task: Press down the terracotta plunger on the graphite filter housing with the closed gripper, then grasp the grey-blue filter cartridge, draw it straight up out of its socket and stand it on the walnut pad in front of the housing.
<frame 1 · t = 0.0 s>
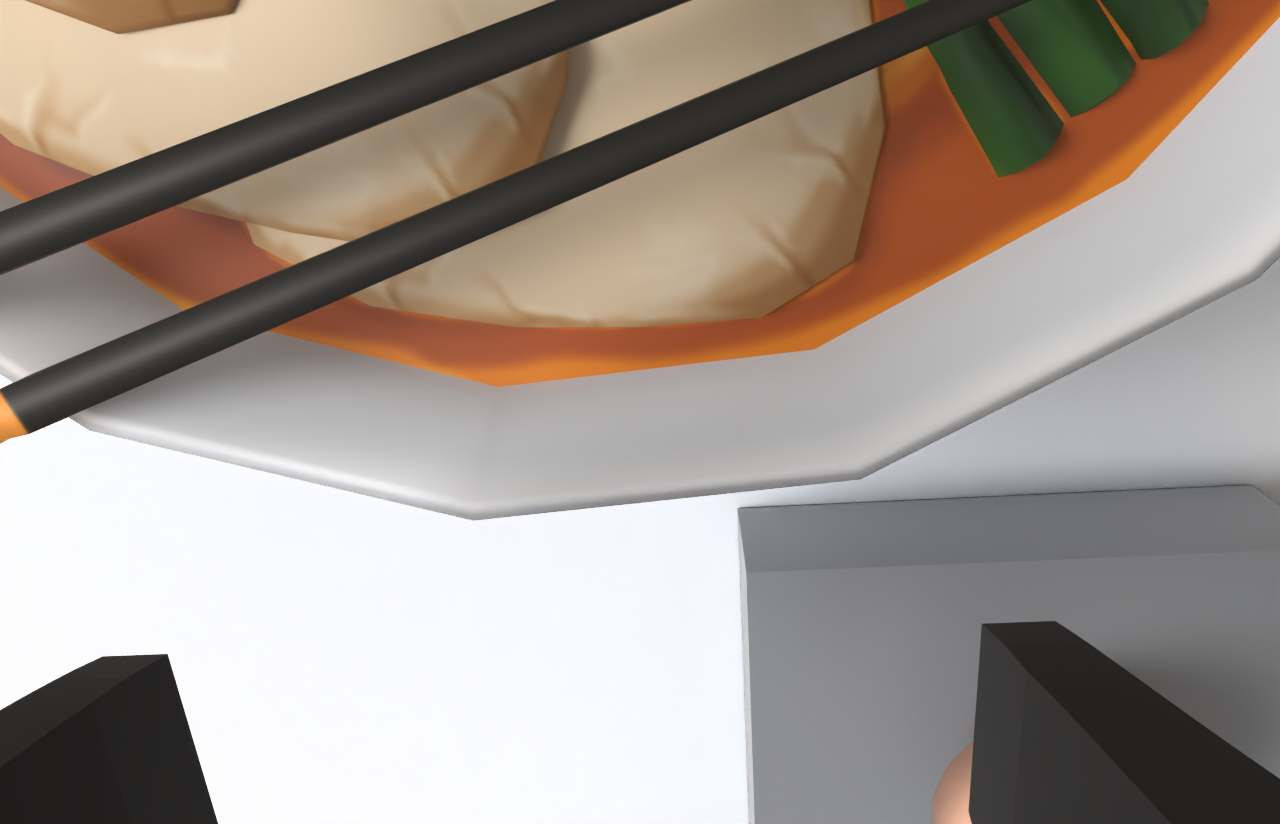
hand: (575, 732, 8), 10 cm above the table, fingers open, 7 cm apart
filter housing: (968, 811, 21), on the table
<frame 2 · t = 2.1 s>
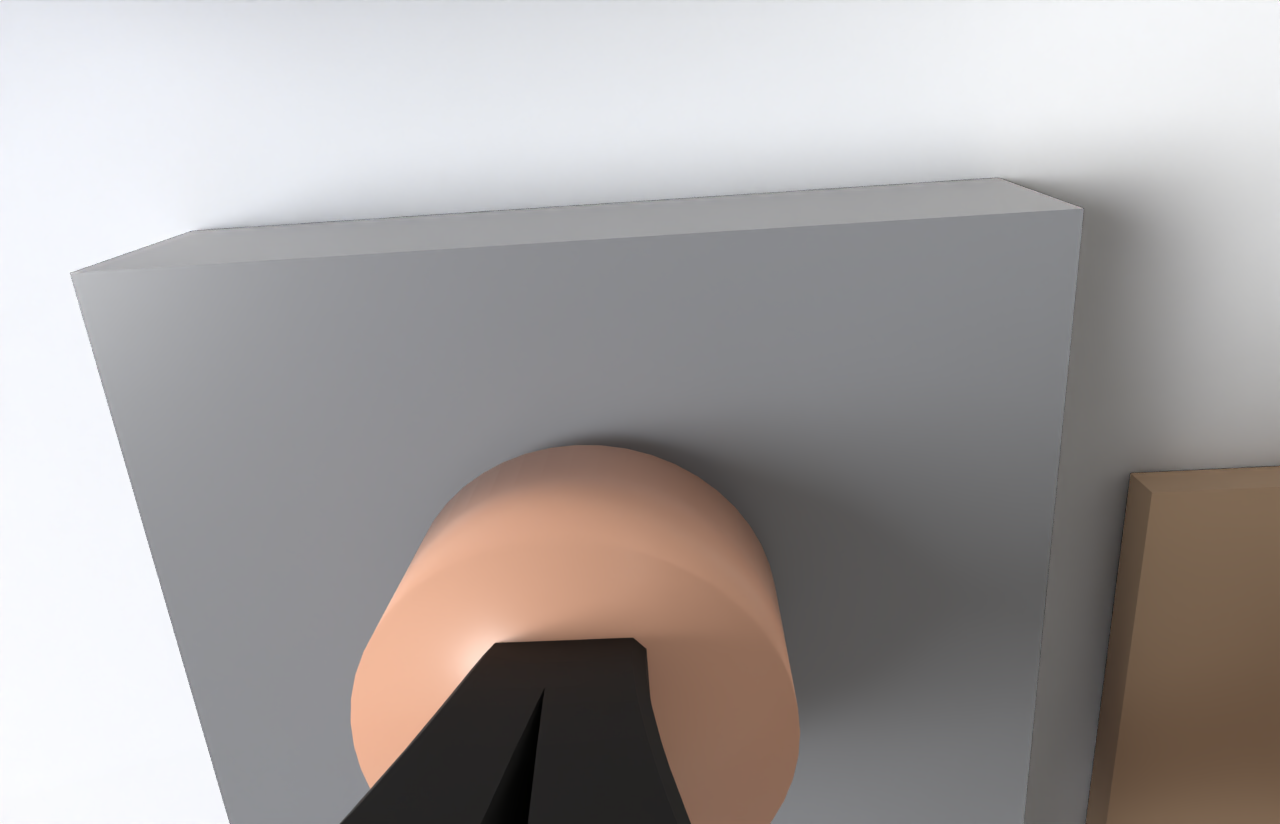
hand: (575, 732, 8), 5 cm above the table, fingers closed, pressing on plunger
filter housing: (631, 732, 14), on the table
plunger: (584, 669, 9), point 4 cm above the table, slide at 1.1 cm, touching gripper
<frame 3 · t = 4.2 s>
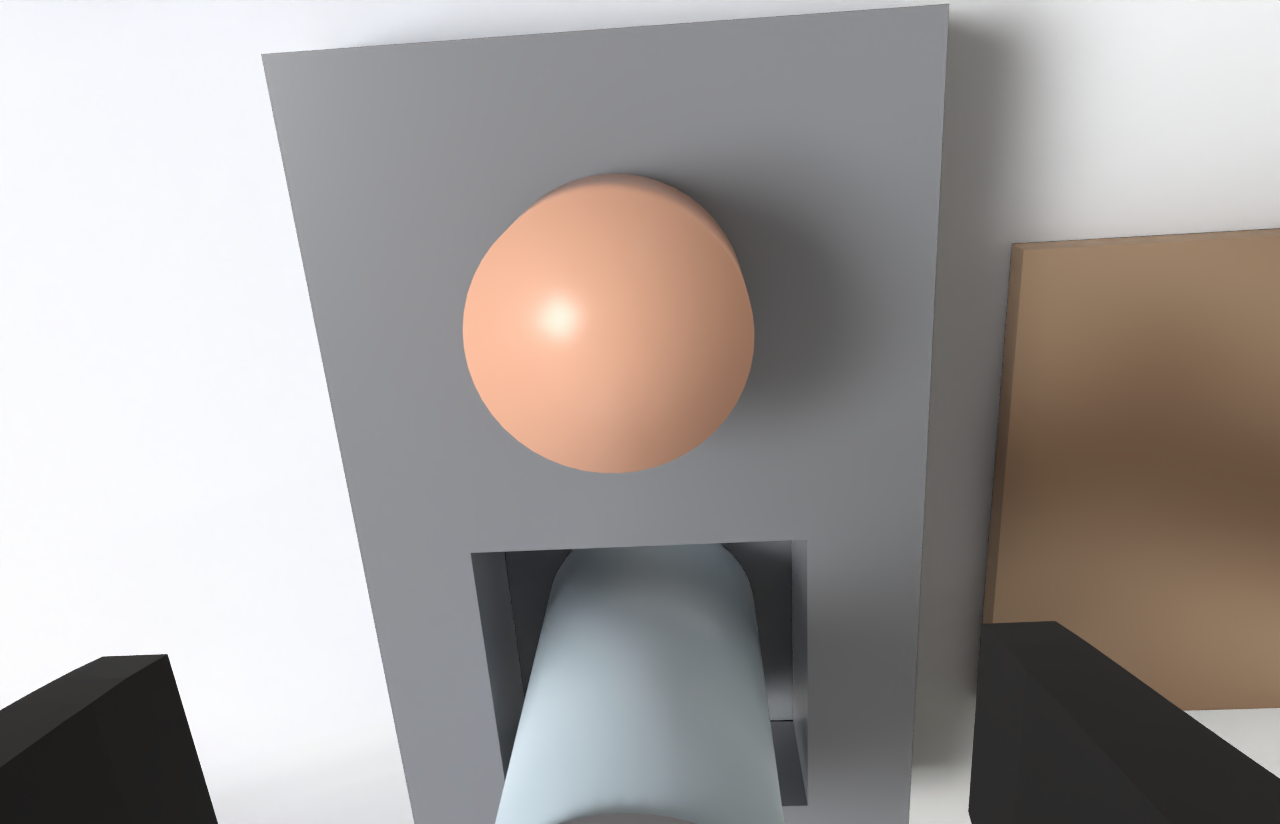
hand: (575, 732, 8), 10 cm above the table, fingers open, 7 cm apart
filter cartridge: (651, 610, 20), resting in filter housing
filter housing: (640, 462, 19), on the table
plunger: (612, 321, 14), point 4 cm above the table, slide at 1.2 cm
walnut pad: (1199, 484, 18), on the table
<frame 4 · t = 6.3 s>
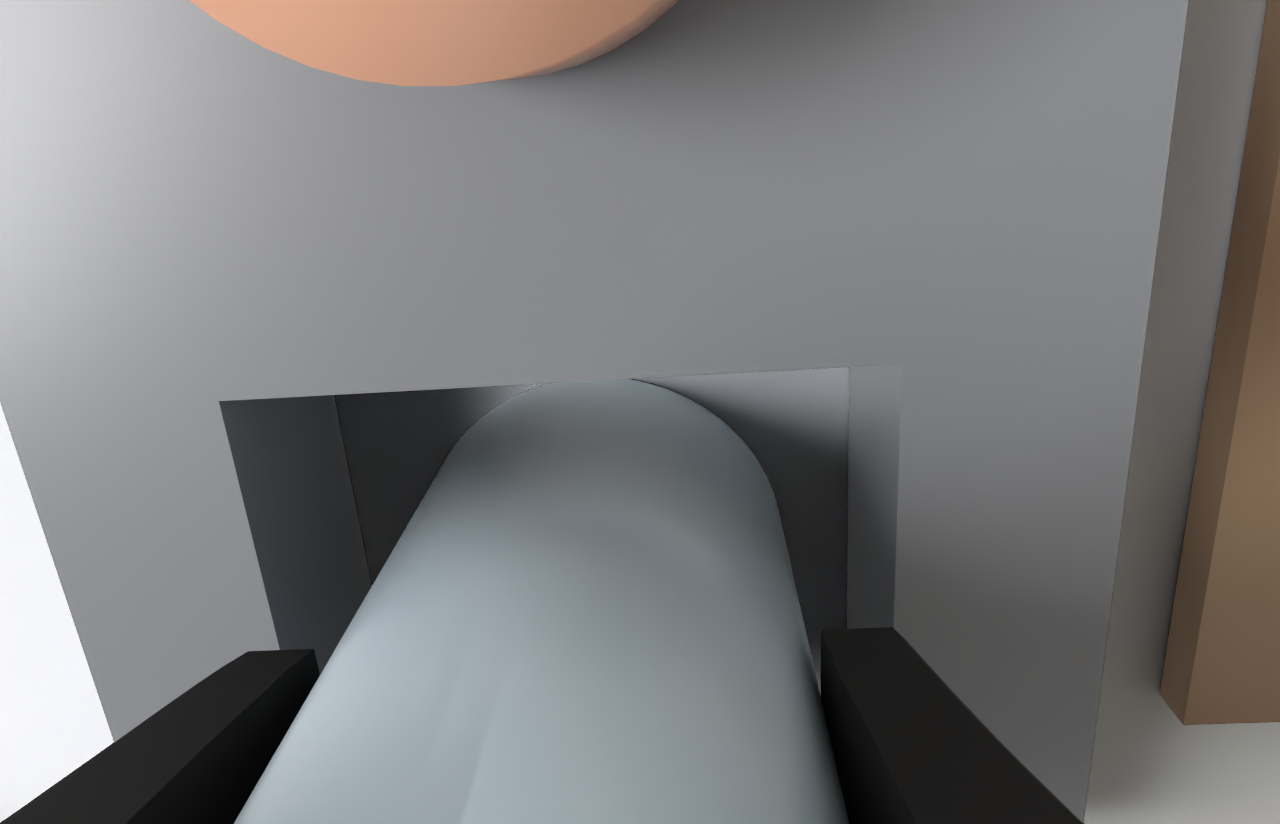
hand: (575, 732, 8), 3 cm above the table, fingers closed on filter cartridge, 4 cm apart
filter cartridge: (603, 544, 11), resting in filter housing, touching gripper
filter housing: (576, 266, 10), on the table
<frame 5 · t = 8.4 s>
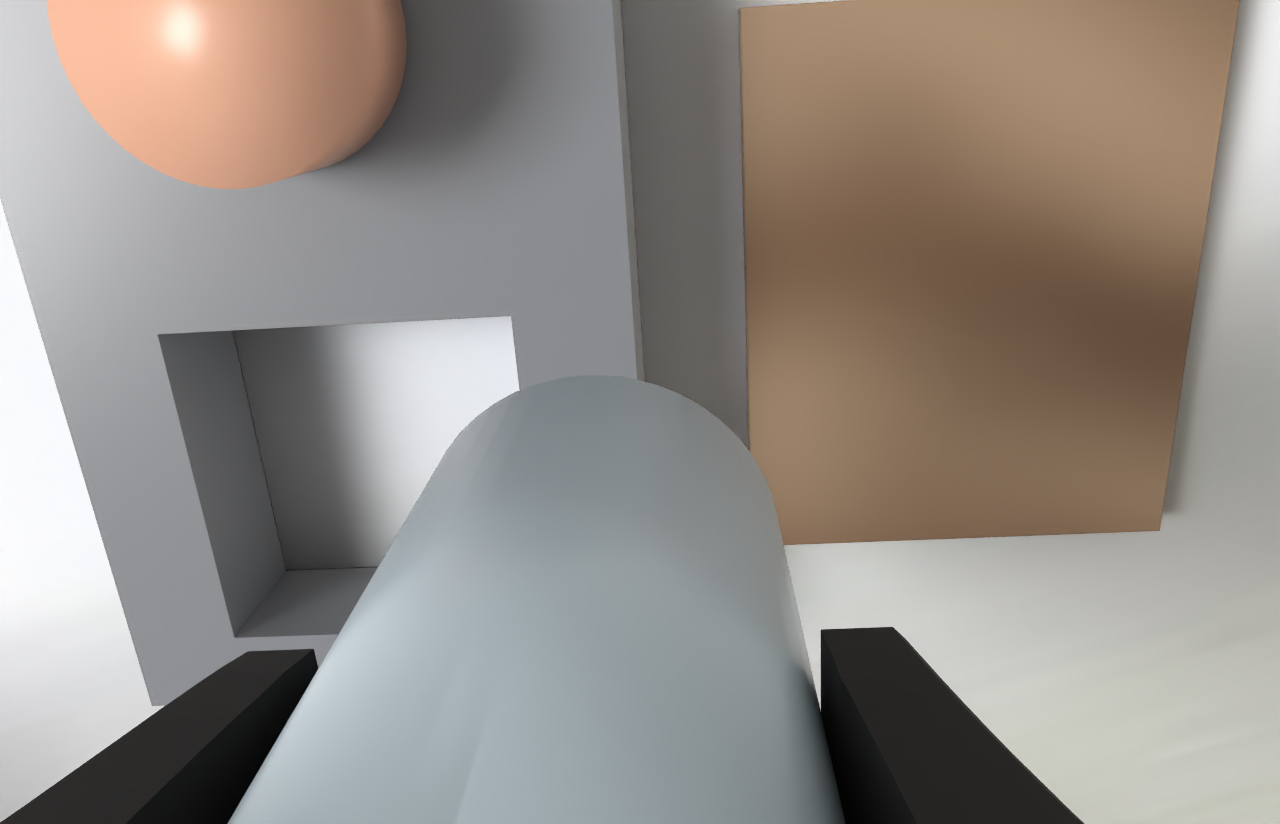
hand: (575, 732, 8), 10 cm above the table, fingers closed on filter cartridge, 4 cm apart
filter cartridge: (600, 543, 11), point 7 cm above the table, touching gripper
filter housing: (373, 264, 17), on the table
plunger: (240, 30, 13), point 4 cm above the table, slide at 1.2 cm
walnut pad: (959, 285, 17), on the table
when the fingers open (5 cm above the table, at t = 10.6 s): filter cartridge stays where it is, resting on walnut pad.
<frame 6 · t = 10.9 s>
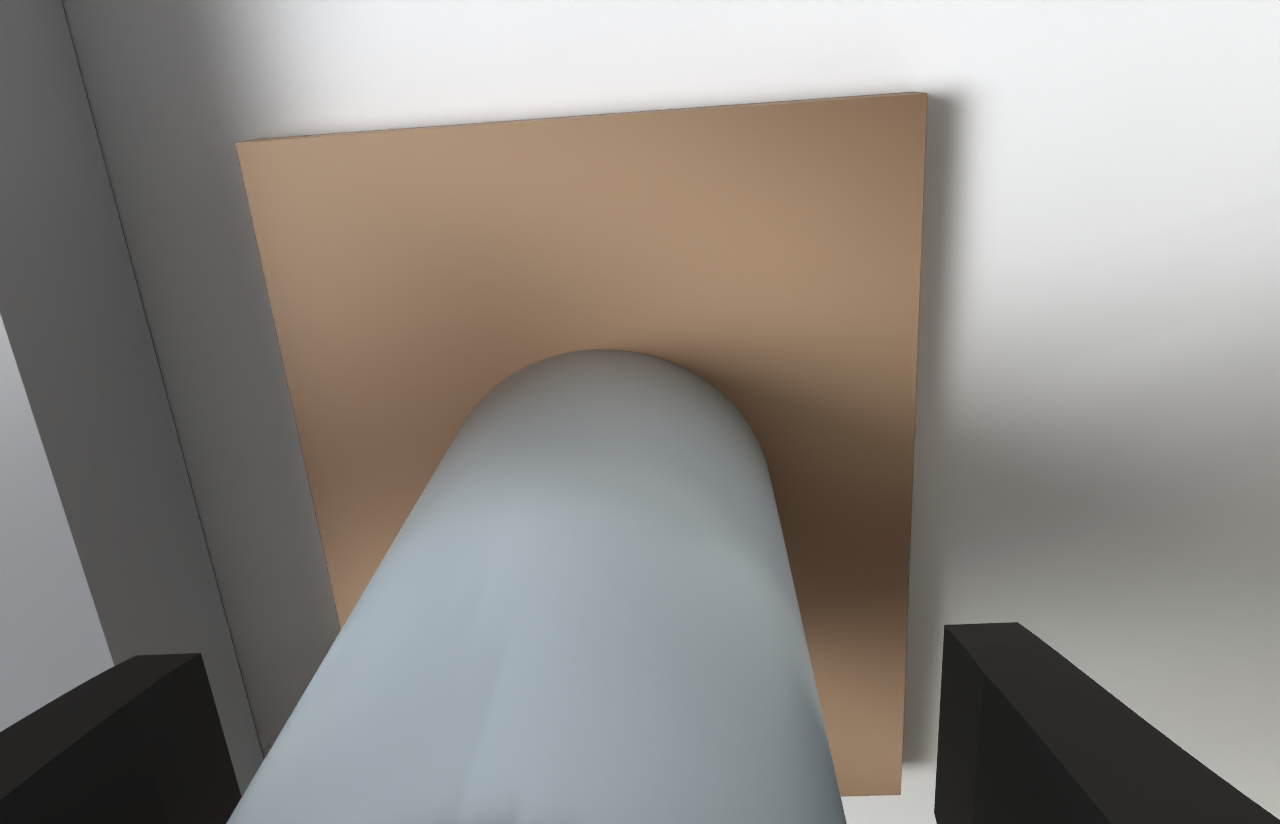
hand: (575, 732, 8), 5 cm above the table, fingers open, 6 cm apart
filter cartridge: (607, 506, 12), point 1 cm above the table, touching walnut pad
walnut pad: (611, 489, 13), on the table
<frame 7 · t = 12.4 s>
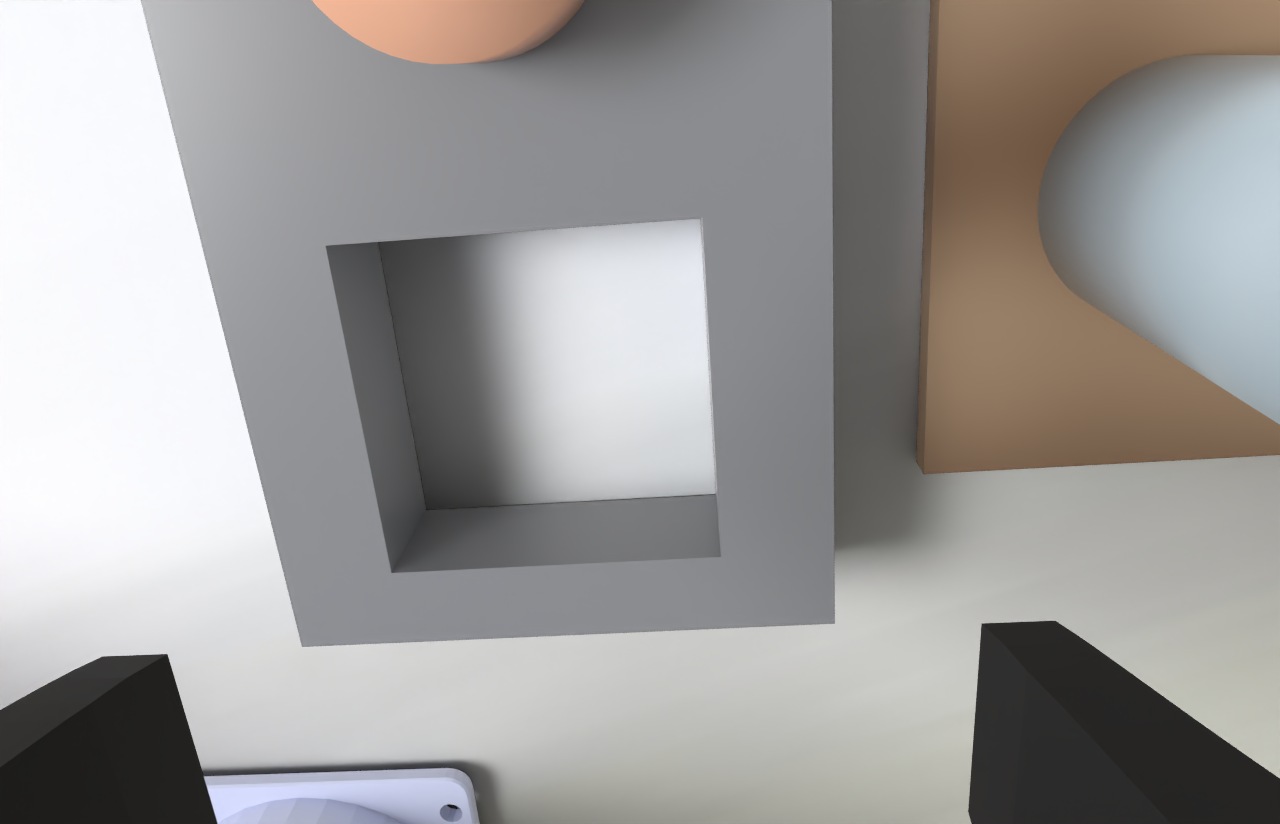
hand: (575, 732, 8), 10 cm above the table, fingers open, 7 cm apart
filter cartridge: (1170, 193, 16), point 1 cm above the table, touching walnut pad
filter housing: (531, 179, 17), on the table
walnut pad: (1154, 190, 16), on the table
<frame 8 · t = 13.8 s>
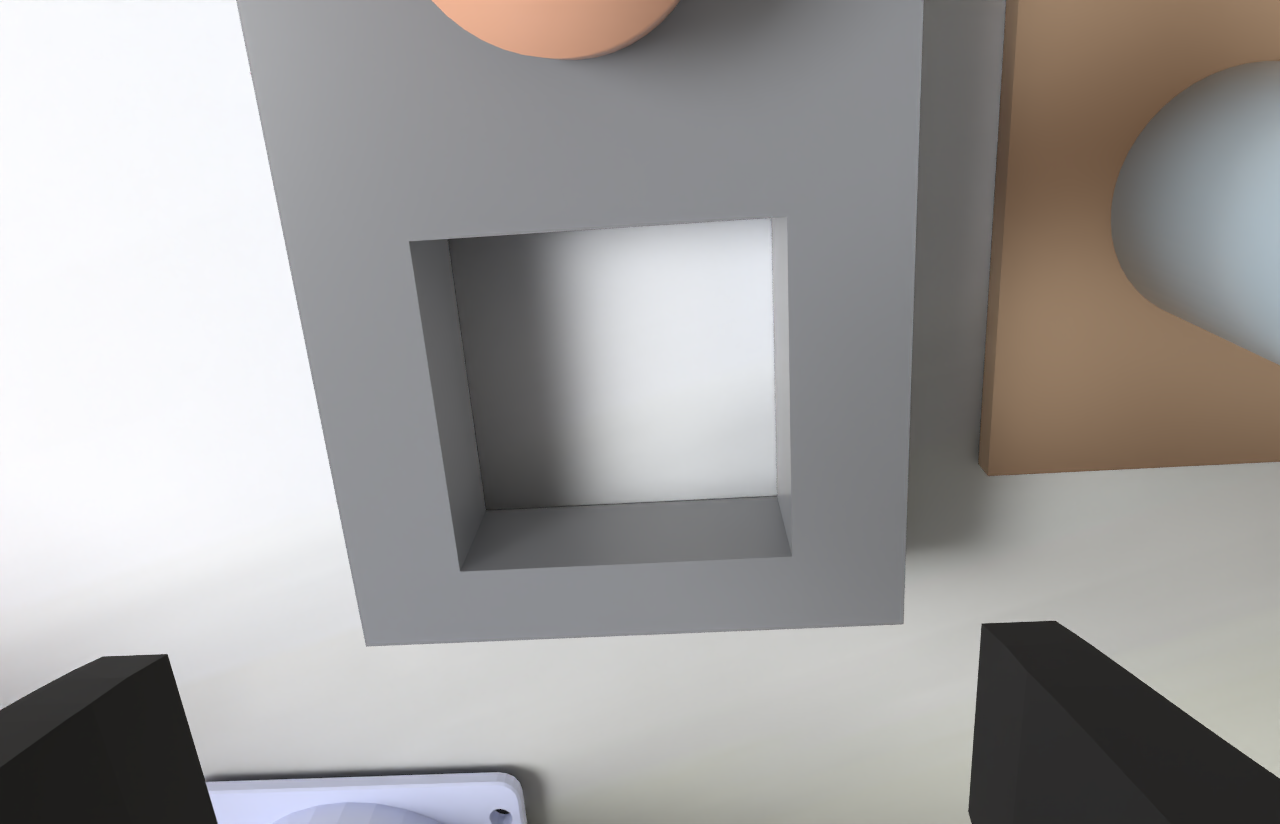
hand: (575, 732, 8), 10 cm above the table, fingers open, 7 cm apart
filter cartridge: (1241, 197, 16), point 1 cm above the table, touching walnut pad
filter housing: (604, 179, 17), on the table
walnut pad: (1221, 195, 16), on the table
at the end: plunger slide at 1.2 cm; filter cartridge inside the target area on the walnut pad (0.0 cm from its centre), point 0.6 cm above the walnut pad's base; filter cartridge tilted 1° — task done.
